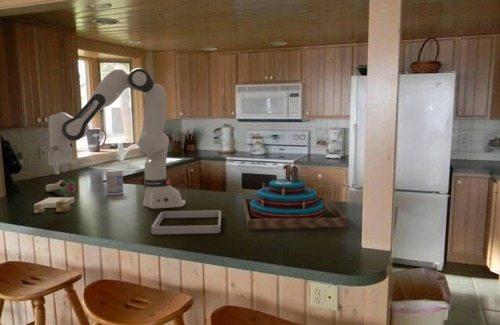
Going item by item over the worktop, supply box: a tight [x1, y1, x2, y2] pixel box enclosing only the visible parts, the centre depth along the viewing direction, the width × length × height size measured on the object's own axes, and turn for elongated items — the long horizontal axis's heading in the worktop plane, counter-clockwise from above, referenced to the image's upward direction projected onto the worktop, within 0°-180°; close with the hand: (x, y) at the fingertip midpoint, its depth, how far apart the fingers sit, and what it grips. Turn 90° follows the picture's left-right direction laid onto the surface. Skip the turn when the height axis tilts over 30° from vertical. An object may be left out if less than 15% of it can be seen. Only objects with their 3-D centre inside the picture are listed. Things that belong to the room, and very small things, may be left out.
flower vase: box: [45, 177, 78, 197], centre depth 236 cm, size 12×12×35 cm
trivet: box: [37, 196, 76, 209], centre depth 211 cm, size 14×14×2 cm
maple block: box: [33, 202, 46, 214], centre depth 196 cm, size 4×4×4 cm
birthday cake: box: [249, 163, 325, 219], centre depth 188 cm, size 35×35×24 cm
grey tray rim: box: [150, 210, 222, 235], centre depth 172 cm, size 28×26×3 cm
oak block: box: [55, 200, 72, 213], centre depth 199 cm, size 5×5×5 cm
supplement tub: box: [105, 169, 124, 196], centre depth 238 cm, size 10×10×15 cm
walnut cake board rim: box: [242, 196, 349, 230], centre depth 188 cm, size 43×43×4 cm
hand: (61, 172), depth 197 cm, fingers open, 8 cm apart
